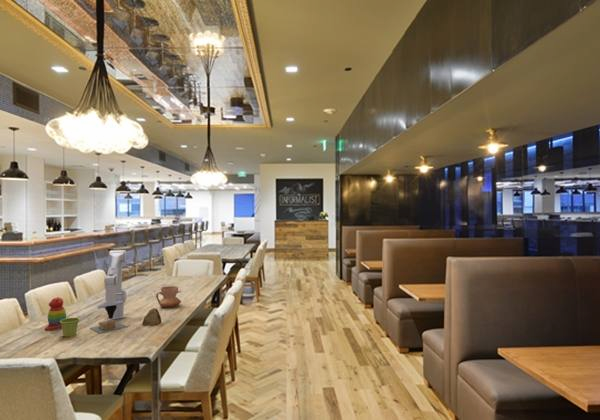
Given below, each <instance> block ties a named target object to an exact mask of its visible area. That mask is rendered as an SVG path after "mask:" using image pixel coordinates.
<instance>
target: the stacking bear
mask: <svg viewBox="0 0 600 420" xmlns="http://www.w3.org/2000/svg"><path fill="white" fill-rule="evenodd" d="M63 305H64V299H63V298H61V297H59V296H57V297H54V298H52V300H51V301H49V303H48V306H49V307H50V308H49V309H48V315H47V322H48V325H47V326H45V328H44V331H47V332H48V331H54V330H60V329H62V325H61V322H60V321H61V320H63V319H66V318H67V312H66V308H65V307H64V306H63Z"/></svg>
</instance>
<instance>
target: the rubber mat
mask: <svg viewBox="0 0 600 420" xmlns="http://www.w3.org/2000/svg"><path fill="white" fill-rule="evenodd" d="M124 328H129V326H128V325H126V324H123V323H121V322H118V321H115V328H111V329H107V330H101V329H99V325H98V326H93V327H90V328H89V330H92V331H94V332H95V333H98V334H104V333H108V332H113V331H117V330H121V329H124Z"/></svg>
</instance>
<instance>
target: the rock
mask: <svg viewBox="0 0 600 420" xmlns="http://www.w3.org/2000/svg"><path fill="white" fill-rule="evenodd" d="M160 323H162V318H161V314H160V311H159V310H158V308H157V307H154V308H152V309H149V310H148V312H147V313H146V315H144V318H143V320H142V325H143V326H145V325H155V324H160Z"/></svg>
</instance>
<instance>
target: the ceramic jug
mask: <svg viewBox="0 0 600 420" xmlns="http://www.w3.org/2000/svg"><path fill="white" fill-rule="evenodd" d="M179 293H182V290H179V286H177V285H168V286H162V287H160V291H158V292H156V294H155V299H156V300H157V302H158V305H159V306H160V307H162V308H167V309H169V308H175V307H178V306H179V305H180V304H181V299H179V298H178V297H177V294H179ZM159 294H160V295H161V296H162V297H163V298H161V300H160V298H159Z"/></svg>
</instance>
